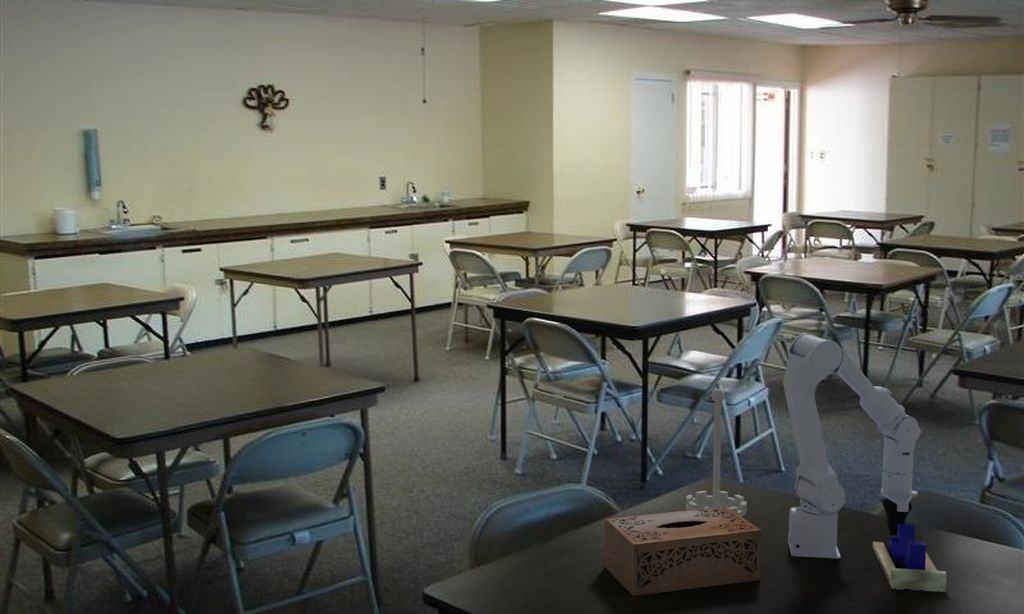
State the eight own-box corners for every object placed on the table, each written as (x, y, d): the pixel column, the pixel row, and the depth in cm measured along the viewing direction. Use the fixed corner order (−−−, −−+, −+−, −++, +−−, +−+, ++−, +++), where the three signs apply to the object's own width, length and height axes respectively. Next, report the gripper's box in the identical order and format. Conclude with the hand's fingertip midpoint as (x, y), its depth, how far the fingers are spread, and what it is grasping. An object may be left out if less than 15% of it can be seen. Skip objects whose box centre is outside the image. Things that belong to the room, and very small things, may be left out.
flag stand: (752, 533, 221) (755, 395, 217) (690, 533, 221) (692, 395, 217) (739, 513, 234) (742, 382, 230) (681, 513, 234) (683, 382, 230)
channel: (891, 588, 192) (892, 570, 192) (872, 547, 213) (873, 530, 212) (945, 592, 190) (946, 573, 190) (921, 550, 211) (922, 533, 211)
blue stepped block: (888, 551, 211) (890, 522, 210) (912, 552, 210) (913, 524, 209) (899, 574, 199) (901, 544, 199) (924, 575, 199) (926, 545, 198)
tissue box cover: (724, 554, 210) (725, 506, 209) (760, 581, 197) (761, 530, 195) (605, 568, 204) (605, 518, 202) (633, 597, 190) (633, 544, 188)
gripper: (925, 481, 205) (922, 548, 207) (910, 461, 219) (908, 523, 221) (888, 480, 206) (885, 546, 208) (875, 459, 220) (873, 521, 222)
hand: (894, 534), depth 214 cm, fingers closed
